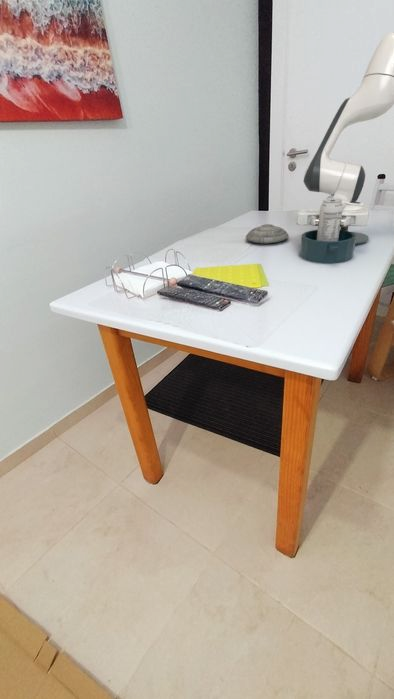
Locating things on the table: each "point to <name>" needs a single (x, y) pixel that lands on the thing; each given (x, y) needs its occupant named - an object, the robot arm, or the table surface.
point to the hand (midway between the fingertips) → (329, 223)
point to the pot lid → (357, 236)
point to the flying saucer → (267, 234)
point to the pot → (327, 247)
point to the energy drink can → (330, 220)
